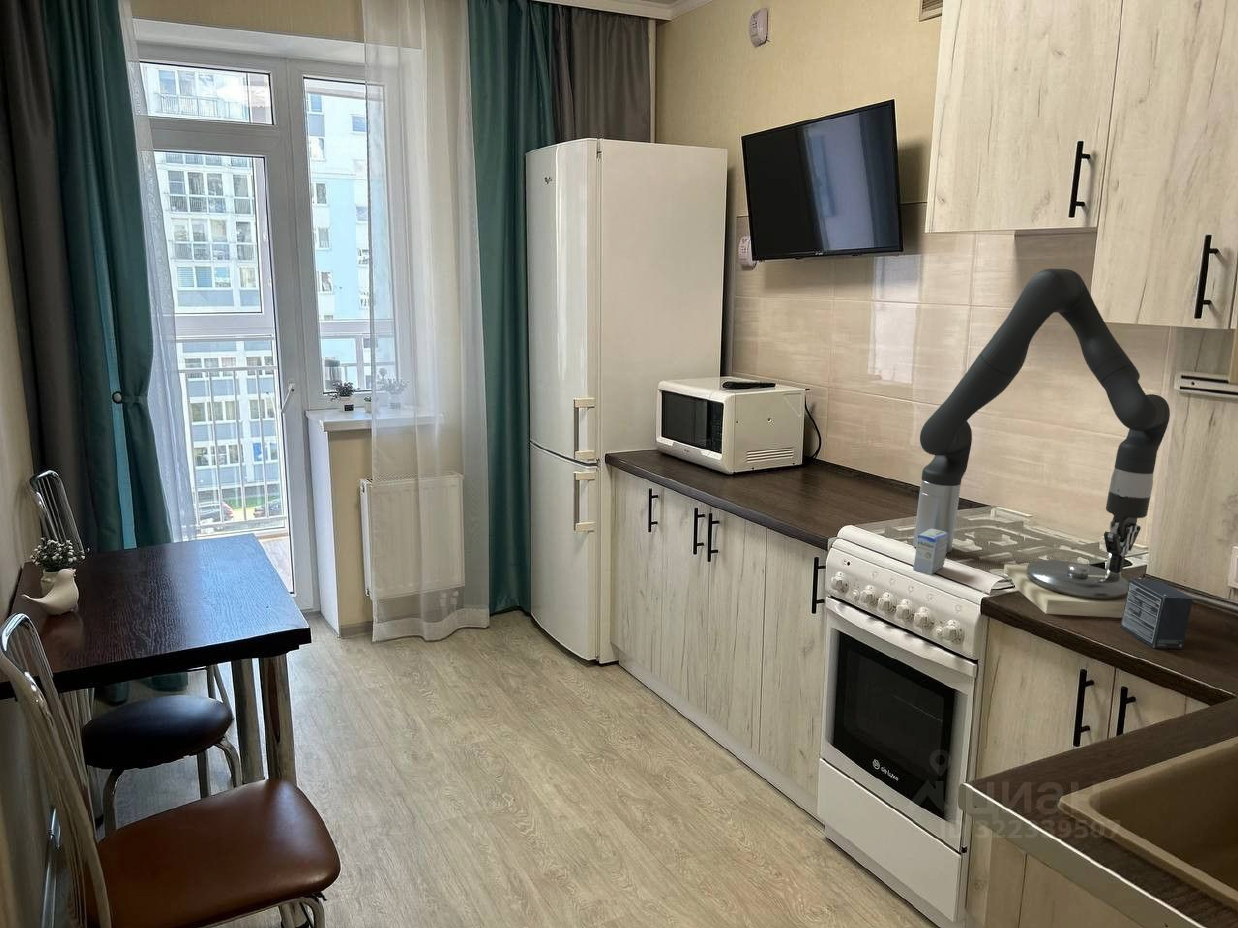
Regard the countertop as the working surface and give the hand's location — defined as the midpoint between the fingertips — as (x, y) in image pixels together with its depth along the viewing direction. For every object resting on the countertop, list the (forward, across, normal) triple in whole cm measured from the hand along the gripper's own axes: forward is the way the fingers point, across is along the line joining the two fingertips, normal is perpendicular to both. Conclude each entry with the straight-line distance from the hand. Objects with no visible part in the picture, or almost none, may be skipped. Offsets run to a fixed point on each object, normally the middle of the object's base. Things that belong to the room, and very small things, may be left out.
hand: (1115, 571), depth 190 cm
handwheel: (+5, 0, -7) cm, 9 cm away
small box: (+8, +10, +12) cm, 18 cm away
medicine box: (+8, +11, -36) cm, 38 cm away
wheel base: (+8, 0, -7) cm, 11 cm away
